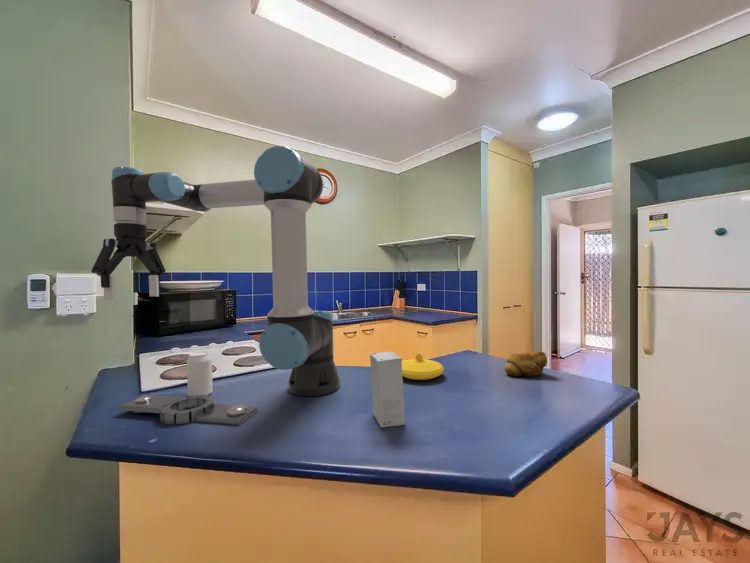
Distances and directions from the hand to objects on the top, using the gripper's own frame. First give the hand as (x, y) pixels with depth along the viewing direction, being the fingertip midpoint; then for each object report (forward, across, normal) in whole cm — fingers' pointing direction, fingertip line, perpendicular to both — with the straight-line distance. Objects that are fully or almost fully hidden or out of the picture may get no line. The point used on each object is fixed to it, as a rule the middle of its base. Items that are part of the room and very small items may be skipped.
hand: (133, 298), depth 93 cm
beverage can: (+28, -2, +19) cm, 34 cm away
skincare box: (+28, +4, +74) cm, 79 cm away
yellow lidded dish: (+28, -28, +79) cm, 89 cm away
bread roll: (+28, -35, +112) cm, 121 cm away
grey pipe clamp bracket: (+28, +9, +25) cm, 39 cm away
